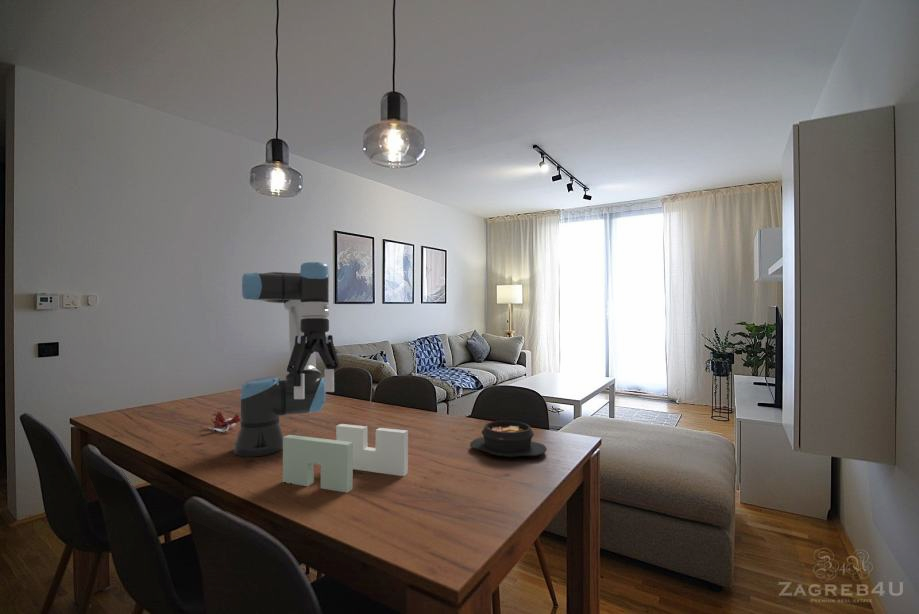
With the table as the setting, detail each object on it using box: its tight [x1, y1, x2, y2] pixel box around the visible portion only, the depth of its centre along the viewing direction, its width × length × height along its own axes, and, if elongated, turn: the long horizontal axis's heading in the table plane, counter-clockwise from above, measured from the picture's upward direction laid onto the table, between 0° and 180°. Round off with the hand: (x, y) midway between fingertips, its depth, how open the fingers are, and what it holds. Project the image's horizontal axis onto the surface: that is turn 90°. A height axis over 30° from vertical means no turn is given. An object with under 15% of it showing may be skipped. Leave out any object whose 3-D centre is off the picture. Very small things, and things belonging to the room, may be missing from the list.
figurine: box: [207, 410, 241, 433], centre depth 160 cm, size 15×12×7 cm
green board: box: [282, 434, 354, 493], centre depth 110 cm, size 20×2×12 cm, turn 72°
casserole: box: [469, 420, 547, 458], centre depth 137 cm, size 25×19×8 cm
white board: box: [335, 423, 409, 477], centre depth 121 cm, size 22×2×12 cm, turn 72°
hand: (315, 395), depth 115 cm, fingers open, 13 cm apart
